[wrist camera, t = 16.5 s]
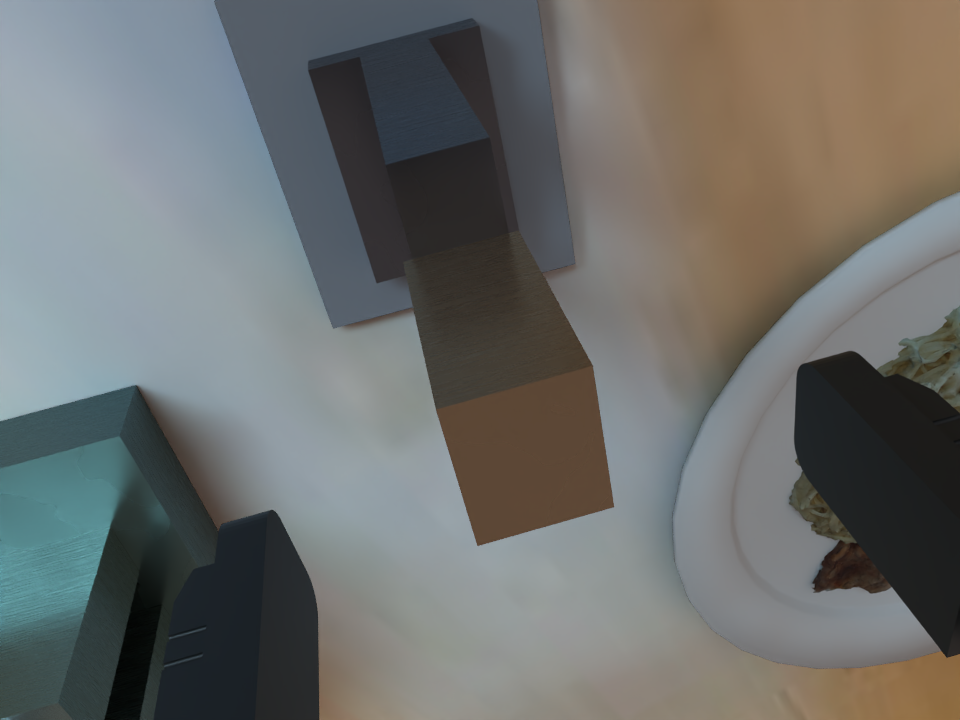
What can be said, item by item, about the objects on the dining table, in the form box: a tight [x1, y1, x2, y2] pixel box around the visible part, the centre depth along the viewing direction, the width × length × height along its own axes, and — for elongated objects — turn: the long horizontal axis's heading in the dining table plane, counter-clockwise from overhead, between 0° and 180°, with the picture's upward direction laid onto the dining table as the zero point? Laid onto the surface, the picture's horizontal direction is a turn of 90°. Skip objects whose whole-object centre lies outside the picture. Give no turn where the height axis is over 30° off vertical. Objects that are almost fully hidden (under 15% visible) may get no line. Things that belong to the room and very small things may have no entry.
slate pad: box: [214, 0, 575, 328], centre depth 25 cm, size 11×9×1 cm
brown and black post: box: [308, 18, 614, 546], centre depth 19 cm, size 7×5×15 cm
